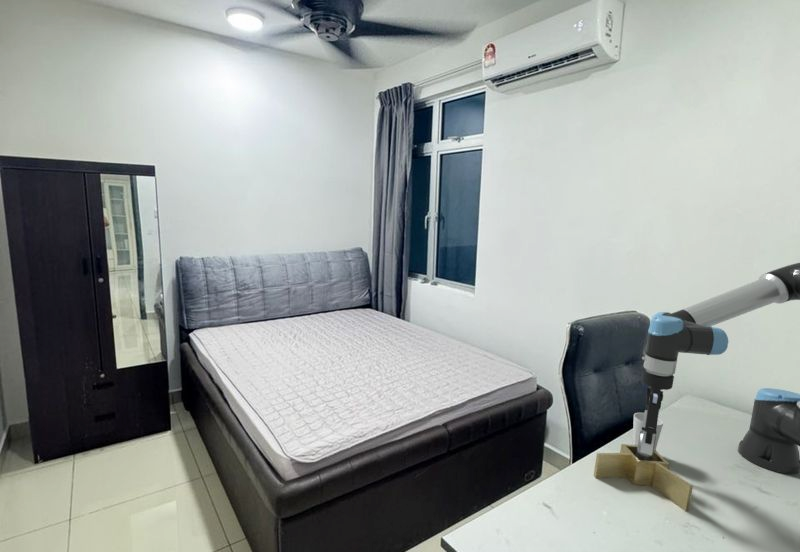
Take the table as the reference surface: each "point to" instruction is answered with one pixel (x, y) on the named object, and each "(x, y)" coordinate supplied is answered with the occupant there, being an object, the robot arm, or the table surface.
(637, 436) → the cup
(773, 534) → the table surface
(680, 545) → the table surface
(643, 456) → the pin
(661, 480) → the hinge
